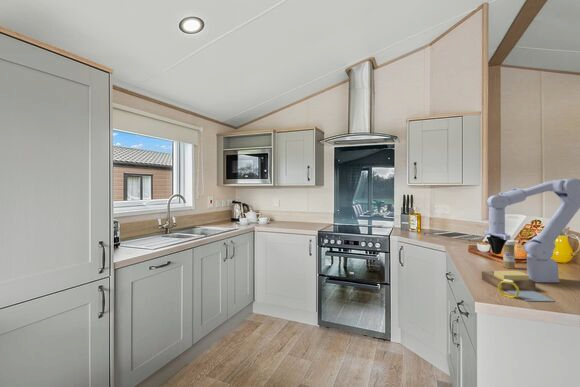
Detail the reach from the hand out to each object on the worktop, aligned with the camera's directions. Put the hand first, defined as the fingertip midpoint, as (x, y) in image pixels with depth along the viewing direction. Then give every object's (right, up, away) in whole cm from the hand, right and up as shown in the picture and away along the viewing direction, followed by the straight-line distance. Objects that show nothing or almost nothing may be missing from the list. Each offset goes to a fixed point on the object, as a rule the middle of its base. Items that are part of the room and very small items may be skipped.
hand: (496, 253), depth 122 cm
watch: (-11, -11, -21) cm, 26 cm away
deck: (-3, -11, -9) cm, 14 cm away
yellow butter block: (-3, -7, -12) cm, 14 cm away
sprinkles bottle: (+16, -10, +13) cm, 23 cm away
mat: (-4, -11, -21) cm, 24 cm away
